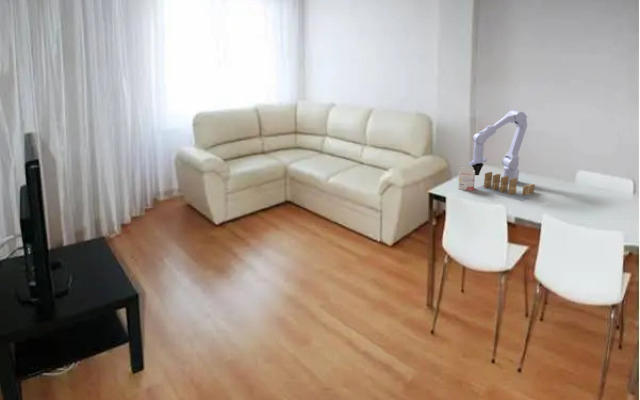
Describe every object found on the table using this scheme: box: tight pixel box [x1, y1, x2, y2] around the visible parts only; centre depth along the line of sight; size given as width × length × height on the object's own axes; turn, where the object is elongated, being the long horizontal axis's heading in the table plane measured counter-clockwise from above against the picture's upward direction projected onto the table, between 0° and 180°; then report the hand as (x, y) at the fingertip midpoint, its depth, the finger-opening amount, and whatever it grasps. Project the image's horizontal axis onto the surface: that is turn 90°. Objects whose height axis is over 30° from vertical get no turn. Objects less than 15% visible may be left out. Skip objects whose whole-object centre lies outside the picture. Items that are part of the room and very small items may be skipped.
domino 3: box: [499, 176, 509, 193], centre depth 277 cm, size 2×5×9 cm, turn 126°
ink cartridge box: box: [457, 166, 476, 192], centre depth 284 cm, size 9×5×15 cm, turn 62°
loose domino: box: [521, 183, 536, 195], centre depth 273 cm, size 2×5×9 cm
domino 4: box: [508, 178, 518, 195], centre depth 273 cm, size 2×5×9 cm, turn 125°
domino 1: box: [483, 171, 493, 188], centre depth 286 cm, size 2×5×9 cm, turn 126°
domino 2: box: [492, 173, 501, 191], centre depth 281 cm, size 2×5×9 cm, turn 126°
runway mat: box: [475, 184, 535, 202], centre depth 278 cm, size 12×31×1 cm, turn 35°
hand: (476, 175), depth 291 cm, fingers closed
